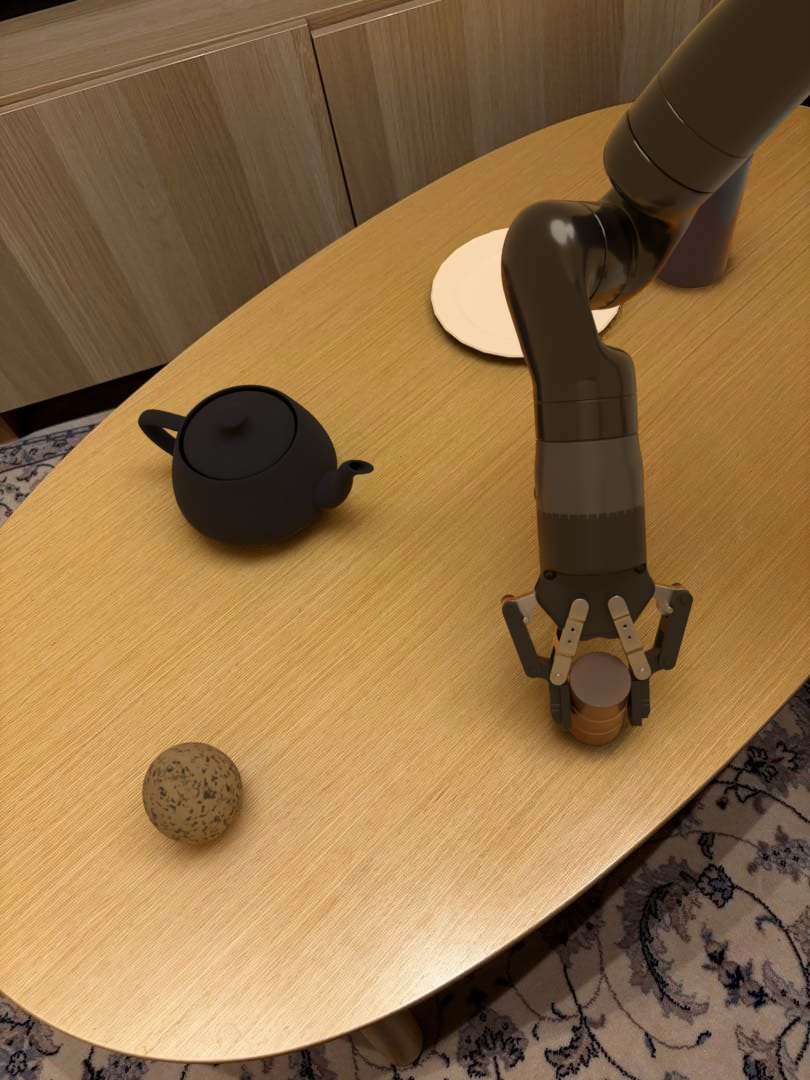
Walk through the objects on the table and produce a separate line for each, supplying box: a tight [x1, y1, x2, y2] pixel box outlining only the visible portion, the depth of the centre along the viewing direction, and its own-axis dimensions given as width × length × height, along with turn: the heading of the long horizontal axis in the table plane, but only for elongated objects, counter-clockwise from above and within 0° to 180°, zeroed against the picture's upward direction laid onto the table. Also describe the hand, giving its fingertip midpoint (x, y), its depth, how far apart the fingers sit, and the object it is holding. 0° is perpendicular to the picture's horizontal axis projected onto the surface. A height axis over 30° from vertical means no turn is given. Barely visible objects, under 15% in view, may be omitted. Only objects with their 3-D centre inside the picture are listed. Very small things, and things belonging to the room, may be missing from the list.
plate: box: [430, 227, 621, 359], centre depth 95 cm, size 21×21×2 cm
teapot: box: [137, 384, 375, 548], centre depth 80 cm, size 25×16×12 cm, turn 67°
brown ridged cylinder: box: [568, 651, 631, 746], centre depth 66 cm, size 4×4×8 cm
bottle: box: [656, 152, 755, 289], centre depth 87 cm, size 8×8×21 cm
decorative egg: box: [141, 741, 244, 845], centre depth 64 cm, size 7×7×10 cm
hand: (600, 723), depth 65 cm, fingers closed on brown ridged cylinder, 4 cm apart
